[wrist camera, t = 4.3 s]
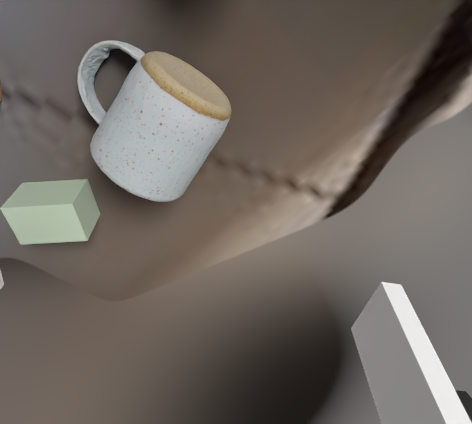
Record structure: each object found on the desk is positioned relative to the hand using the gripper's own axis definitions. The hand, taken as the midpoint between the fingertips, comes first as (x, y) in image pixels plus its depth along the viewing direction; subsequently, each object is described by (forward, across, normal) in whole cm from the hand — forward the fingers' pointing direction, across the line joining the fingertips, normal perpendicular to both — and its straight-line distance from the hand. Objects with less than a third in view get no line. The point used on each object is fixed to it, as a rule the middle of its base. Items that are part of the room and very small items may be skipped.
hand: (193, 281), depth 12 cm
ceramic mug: (+19, -5, -1) cm, 20 cm away
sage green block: (+19, -12, -12) cm, 26 cm away
